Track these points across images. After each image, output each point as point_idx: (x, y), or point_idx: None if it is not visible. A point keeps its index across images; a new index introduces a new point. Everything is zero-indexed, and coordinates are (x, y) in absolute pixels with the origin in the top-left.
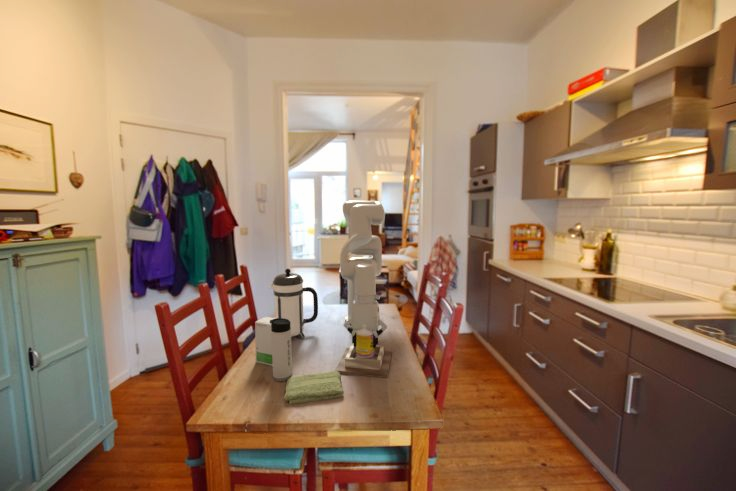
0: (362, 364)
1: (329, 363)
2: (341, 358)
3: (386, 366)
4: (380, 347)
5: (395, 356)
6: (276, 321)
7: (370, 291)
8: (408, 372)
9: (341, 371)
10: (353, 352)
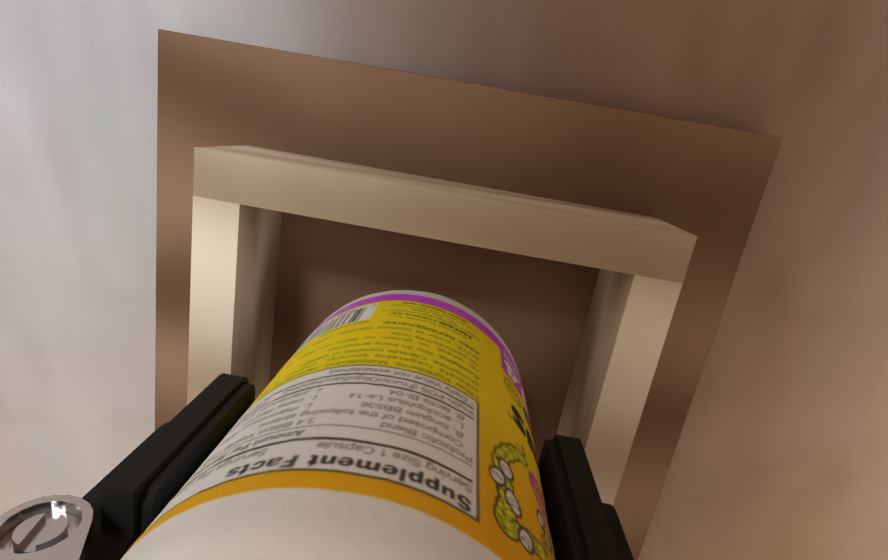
0: None
1: (73, 357)
2: (159, 326)
3: (631, 500)
4: (631, 286)
5: (784, 225)
6: None
7: None
8: (821, 540)
9: None
10: (264, 264)
